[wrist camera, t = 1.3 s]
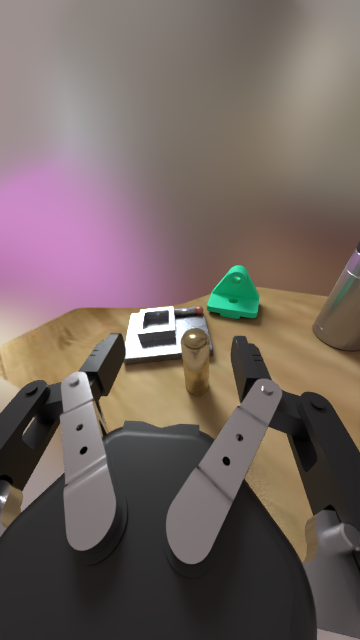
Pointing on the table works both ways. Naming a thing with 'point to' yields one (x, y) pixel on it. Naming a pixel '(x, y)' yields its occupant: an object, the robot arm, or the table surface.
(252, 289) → the camera mount
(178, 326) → the dock
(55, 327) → the table surface
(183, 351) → the brass cylinder peg
